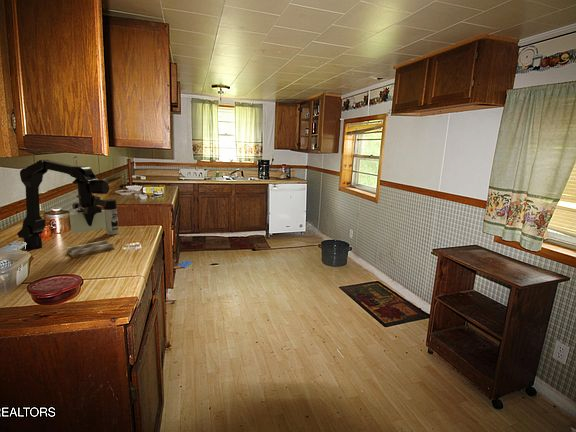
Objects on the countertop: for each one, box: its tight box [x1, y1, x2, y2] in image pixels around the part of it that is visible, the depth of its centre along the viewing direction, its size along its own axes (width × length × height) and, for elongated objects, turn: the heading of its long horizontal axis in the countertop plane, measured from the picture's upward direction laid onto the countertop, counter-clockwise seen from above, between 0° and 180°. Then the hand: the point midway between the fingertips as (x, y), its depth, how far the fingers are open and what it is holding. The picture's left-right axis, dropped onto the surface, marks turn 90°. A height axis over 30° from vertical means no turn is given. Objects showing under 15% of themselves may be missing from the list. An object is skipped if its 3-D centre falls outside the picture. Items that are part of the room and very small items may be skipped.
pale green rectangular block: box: [68, 209, 106, 234], centre depth 152 cm, size 14×4×9 cm, turn 143°
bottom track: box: [65, 239, 115, 259], centre depth 154 cm, size 18×9×3 cm, turn 142°
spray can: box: [103, 198, 120, 236], centre depth 184 cm, size 7×7×20 cm
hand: (88, 225), depth 152 cm, fingers closed on pale green rectangular block, 3 cm apart
